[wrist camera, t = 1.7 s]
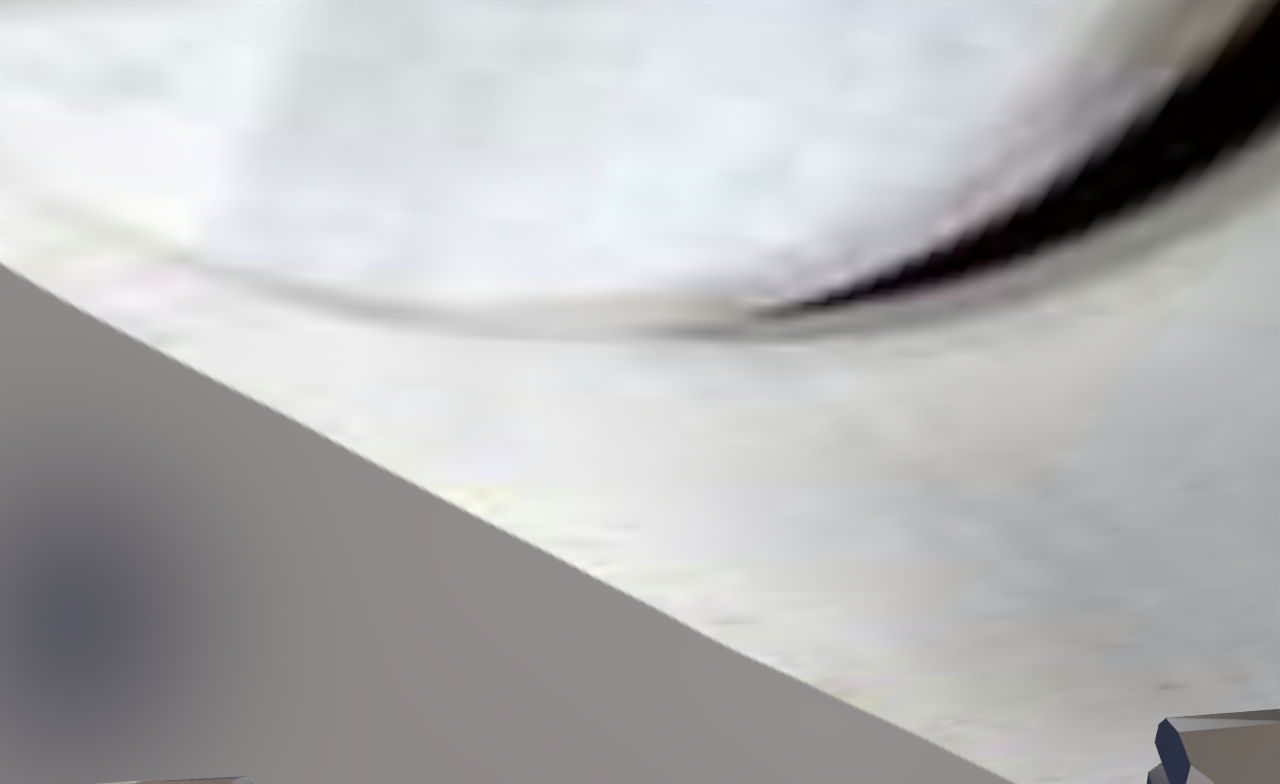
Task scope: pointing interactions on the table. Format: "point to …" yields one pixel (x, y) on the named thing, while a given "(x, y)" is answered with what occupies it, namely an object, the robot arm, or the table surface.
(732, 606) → the table surface
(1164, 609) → the table surface
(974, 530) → the table surface
